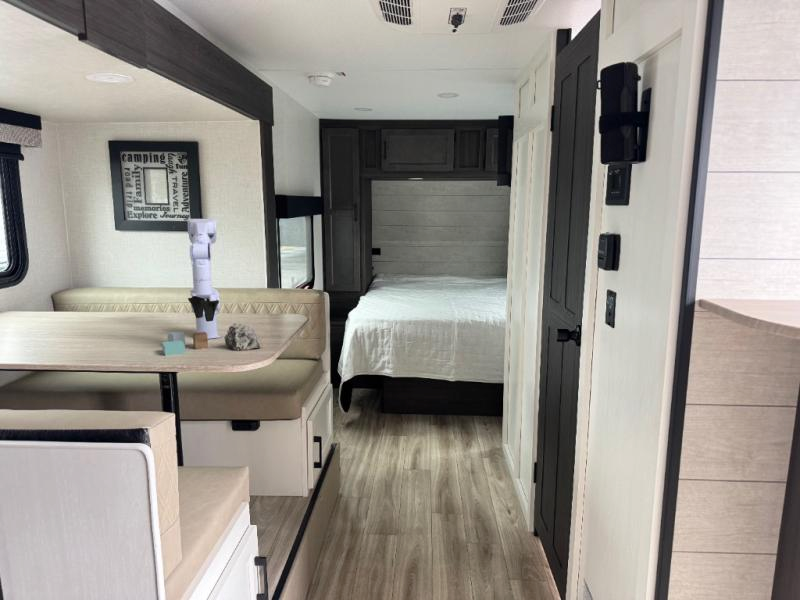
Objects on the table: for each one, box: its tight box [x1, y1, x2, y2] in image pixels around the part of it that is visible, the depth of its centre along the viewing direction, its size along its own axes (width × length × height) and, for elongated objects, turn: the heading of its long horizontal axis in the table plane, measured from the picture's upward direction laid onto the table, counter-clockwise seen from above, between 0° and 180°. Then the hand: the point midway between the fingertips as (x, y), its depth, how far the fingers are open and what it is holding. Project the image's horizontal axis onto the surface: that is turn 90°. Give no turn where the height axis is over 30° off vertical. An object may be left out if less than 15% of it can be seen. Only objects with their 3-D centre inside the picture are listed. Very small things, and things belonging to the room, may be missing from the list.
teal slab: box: [161, 340, 186, 357], centre depth 174 cm, size 6×6×4 cm
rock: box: [224, 323, 262, 351], centre depth 181 cm, size 13×10×10 cm
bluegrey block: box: [167, 330, 186, 346], centre depth 182 cm, size 4×4×5 cm
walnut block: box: [192, 332, 209, 350], centre depth 181 cm, size 4×4×5 cm
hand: (204, 319), depth 178 cm, fingers open, 7 cm apart
